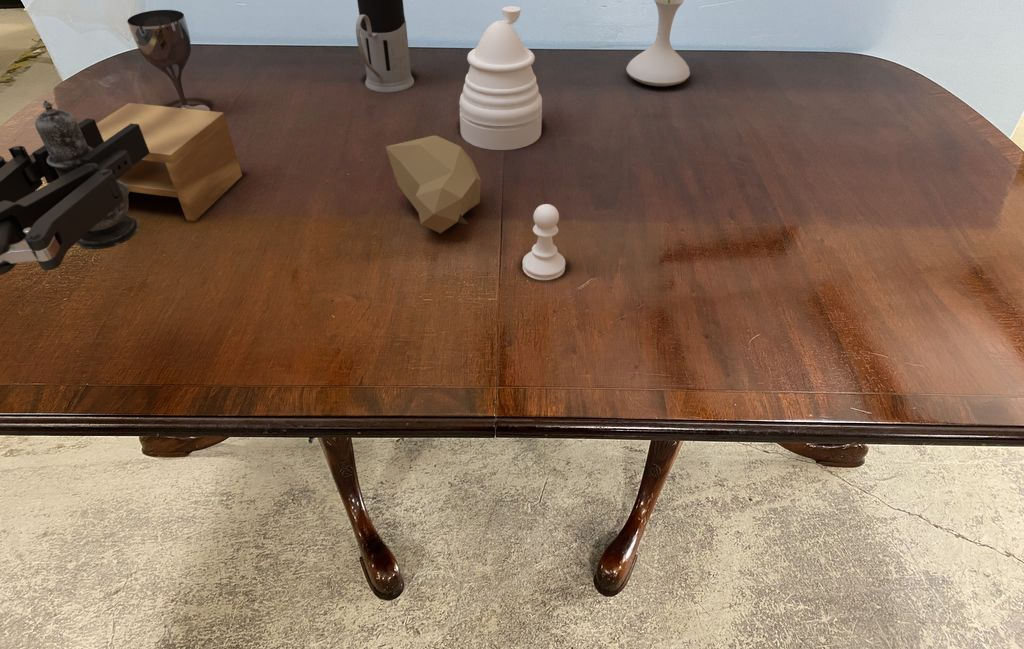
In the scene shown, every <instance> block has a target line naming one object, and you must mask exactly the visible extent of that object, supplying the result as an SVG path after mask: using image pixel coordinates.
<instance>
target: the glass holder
mask: <svg viewBox="0 0 1024 649" xmlns="http://www.w3.org/2000/svg"><path fill="white" fill-rule="evenodd" d="M357 8H358V17H357V19H356V22H355V36H356V41H357V47H358V51H359V55H360V57H361V59H362V62H363V63H364V66H365V74H366V80H365V81H364V82H365V87H366V88H367V89H368V90H370V91H373V92H377V93H398V92H402V91H405V90H408V89H411V87H413V85H414V84H415V79H414V77H413V76H412V72H411V60H410V59H411V58H410V49H409V39H408V30H407V21H406V16H405V8H404V0H357Z"/></svg>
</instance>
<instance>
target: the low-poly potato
mask: <svg viewBox="0 0 1024 649" xmlns="http://www.w3.org/2000/svg"><path fill="white" fill-rule="evenodd" d="M385 149H386V152H387V156H388V159H389V162H390V165H391V170H392V172H393V175H394V178H395V182H396V185H397V186H398V187H399V188H400V190H401V191H402V193H403V194H404V195H405V197H406V198H407V199H408V201H409V202H410V204H411V205H412V206H413V207H414V209H415V210H416V212H417V213H418V217H419V224H420V225H421V226H423V227H425V228H427V229H430V230H431V231H435V232H437V233H439V234H442V233H443V232H445V231H446V230H448V229H449V228H451V227H452V226H454V225H455V224H462V225H469V223H468V222H467V221H466V219H465V218H464V217H463V216H464V215H465V214H467V213H468V212H469V211H470V210H472V209H473V208H475V207H476V206H477V205H478V204H480V203H481V189H482V188H481V187H482V180H481V177H480V175H479V172H478V170H477V168H476V165H475V163H474V162H473V159H472V158H471V157H470V156H469V155H468V153H467V152H466V150H464V149H463V147H462V146H461V145H459V144H456V143H454V142H452V141H450V140H447V139H445V138H442V137H441V136H438V135H436V134H434V135H429V136H426V137H425V136H424V137H421V138H417V139H412V140H409V141H403V142H399V143H395V144H391V145H387V146H385Z"/></svg>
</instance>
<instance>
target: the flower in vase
mask: <svg viewBox="0 0 1024 649" xmlns="http://www.w3.org/2000/svg"><path fill="white" fill-rule="evenodd" d="M653 1H654V3H655V5H656V7H657V13H658V24H657V32H656V37H655V40H654V42H653V43H652V44H651V46H649V47H648V48H647V49H645V50H643V51H642V52H640V53H638V55H636V56H634V57H633V58H632V59H631V60H630V61H629V62H628V63H627V66H626V68H625V70H626V73H627V74H628V76H629V77H630V78H631V79H632V80H634V81H636V82H638V83H640V84H644V85H647V86H652V87H669V86H674V85H675V86H676V85H679V84H682V83H684V82H685V81H686V80H688V78H689V77H690V75H691V72H690V71H691V70H690V67H689V64H688V63H687V62H686V61H685V60H684V58H683V57H682V56H681V55H680V54H679V53H678V52H677V51H676V50H675V49H674V48H673V47H672V45H671V38H670V37H671V31H672V26H673V22H674V18H675V16H676V14H677V11H678V9H679V8H680V7H681V6H682V4H683V3H684V2H685V0H653Z"/></svg>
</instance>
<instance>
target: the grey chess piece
mask: <svg viewBox="0 0 1024 649" xmlns="http://www.w3.org/2000/svg"><path fill="white" fill-rule="evenodd" d="M42 103H43V105H42V108H43V109H45V110H44V111H43V112H41V113H40V114H39V115H38V116H37V117H36V119H35V122H34V125H35V130H36V131H37V133H38V135H39V137H40V139H41V141H42V143H43V146H44V145H45V147H46V149H47V151H48V153H49V156H48V158H47V163H48V164H49V165H50V166H52V167H54V168H55V170H56V172H57V174H58V176H59V178H60V177H62V176H64V175H66V174H68V173H69V172H71V171H73V170H75V169H77V168H79V167H81V166H82V163H81V161H80V158H81V157H83V156H84V155H86V154H87V153H89V152H90V151H92V150H93V149H94V148H93V147H90V146H88V145H87V143H86V141H85V139H84V136H83V134H82V132H81V130H80V128H79V125H78V124H79V122H78V121H77V119H76V117H75V116H74V115H73V114H72V113H71V112H69V111H66V110H63V109H56V108H53V106H54V105H53V103H51V102H50V101H48V100H44V101H43V102H42ZM117 183H118V185H119V187H120V190H121V192H122V194H123V196H124V200H123V201H122V202H121V203H120V204H119V205H118V206H117V207H115V208H114V209H113V210H112V211H111V212H110V213H109V214H108V215H106V216H105V217H104V218H103V219H102V220H101V221H100V222H99V223H98V224H96V225H95V226H94V227H93V228H92V229H91V230H90V231H89V232H88V233H86V234H85V235H84V236H83V237H82V238H81V239H80V240H79V241H78V242H76V243H75V245H76V246H78V247H79V248H80V249H81V248H82V249H86V250H104V249H109V248H113V247H116V246H119V245H122V244H124V243H126V242H128V241H129V240H131V239H132V238H134V237H135V236H136V235H137V233H139V230H140V227H141V226H140V225H141V224H140V222H139V220H138V219H137V218H136V217H134V216H132V215H129V214H127V213H128V211H129V203H130V202H129V194H130V192H129V188H128V187H127V186H126V184H124V183H122V182H120V181H117Z"/></svg>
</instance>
